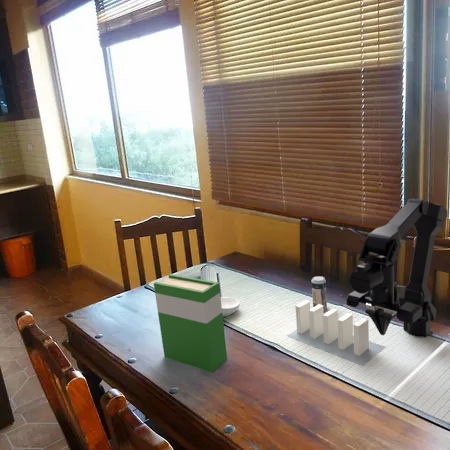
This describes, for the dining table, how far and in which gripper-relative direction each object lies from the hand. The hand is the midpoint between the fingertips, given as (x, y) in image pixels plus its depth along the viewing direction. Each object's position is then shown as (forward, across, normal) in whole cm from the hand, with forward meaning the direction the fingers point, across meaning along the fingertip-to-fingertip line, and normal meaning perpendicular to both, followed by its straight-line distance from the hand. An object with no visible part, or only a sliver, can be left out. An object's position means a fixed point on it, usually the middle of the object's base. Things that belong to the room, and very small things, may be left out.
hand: (382, 334), depth 123 cm
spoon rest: (+9, +58, +11) cm, 60 cm away
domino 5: (+7, +6, 0) cm, 10 cm away
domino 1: (+7, +26, 0) cm, 27 cm away
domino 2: (+7, +22, 0) cm, 23 cm away
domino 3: (+7, +16, 0) cm, 18 cm away
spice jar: (+9, +32, -15) cm, 36 cm away
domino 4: (+7, +12, 0) cm, 14 cm away
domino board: (+8, +16, 0) cm, 18 cm away
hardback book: (+8, +42, +31) cm, 53 cm away
